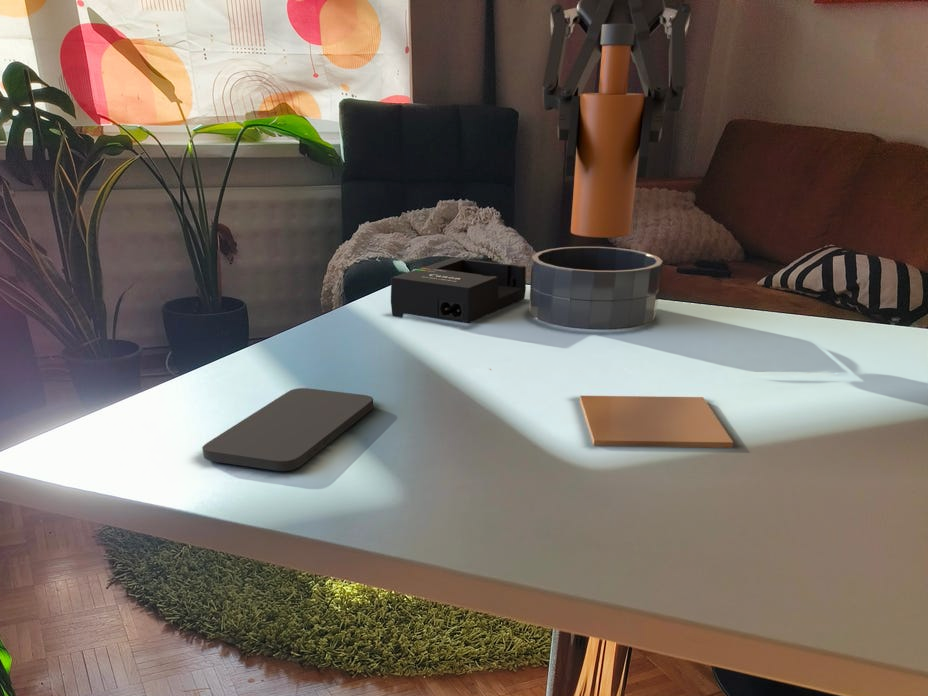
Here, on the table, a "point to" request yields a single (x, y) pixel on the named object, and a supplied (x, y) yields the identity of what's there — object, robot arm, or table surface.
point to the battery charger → (457, 289)
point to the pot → (594, 287)
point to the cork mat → (653, 422)
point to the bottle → (608, 143)
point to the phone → (288, 429)
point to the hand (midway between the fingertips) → (606, 166)
